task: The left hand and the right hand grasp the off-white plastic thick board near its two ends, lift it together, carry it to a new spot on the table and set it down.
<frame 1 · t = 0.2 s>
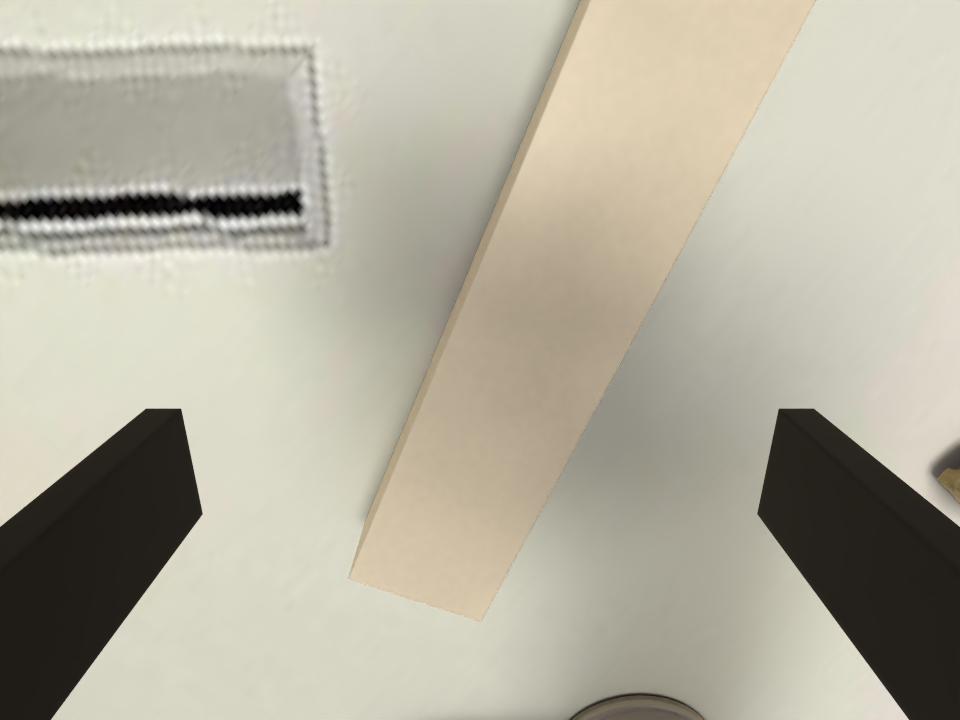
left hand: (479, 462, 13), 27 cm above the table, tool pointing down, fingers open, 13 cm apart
thick board: (613, 131, 36), on the table
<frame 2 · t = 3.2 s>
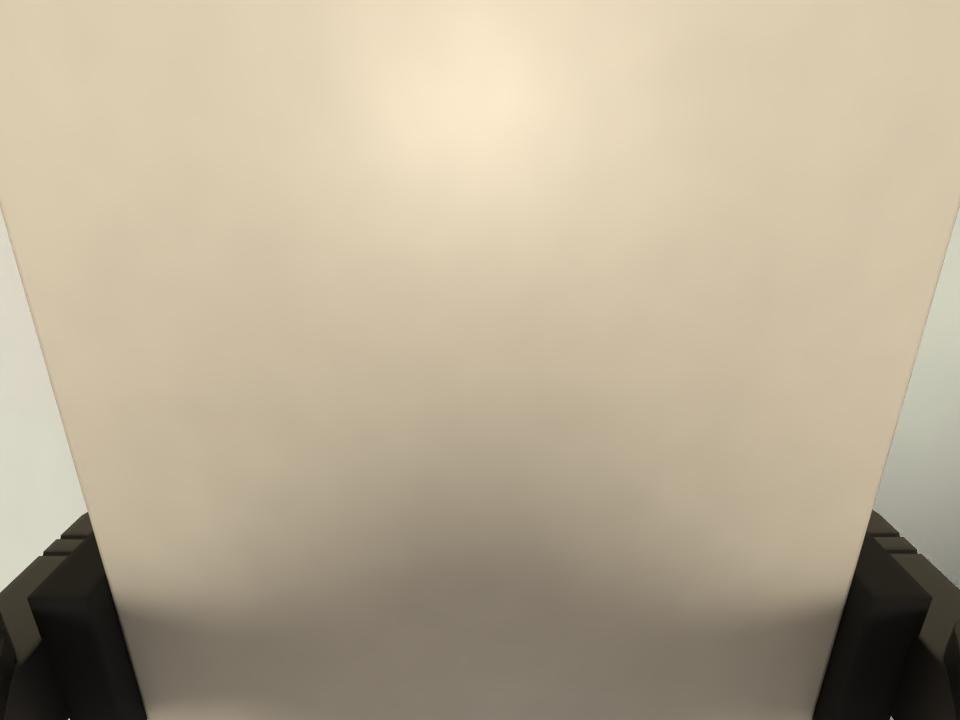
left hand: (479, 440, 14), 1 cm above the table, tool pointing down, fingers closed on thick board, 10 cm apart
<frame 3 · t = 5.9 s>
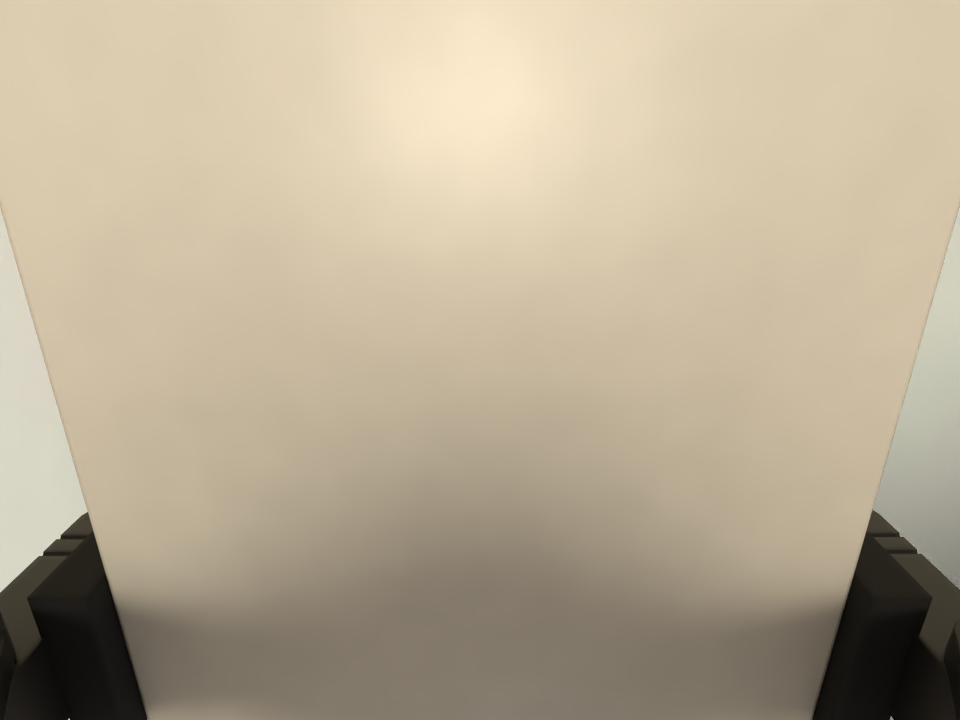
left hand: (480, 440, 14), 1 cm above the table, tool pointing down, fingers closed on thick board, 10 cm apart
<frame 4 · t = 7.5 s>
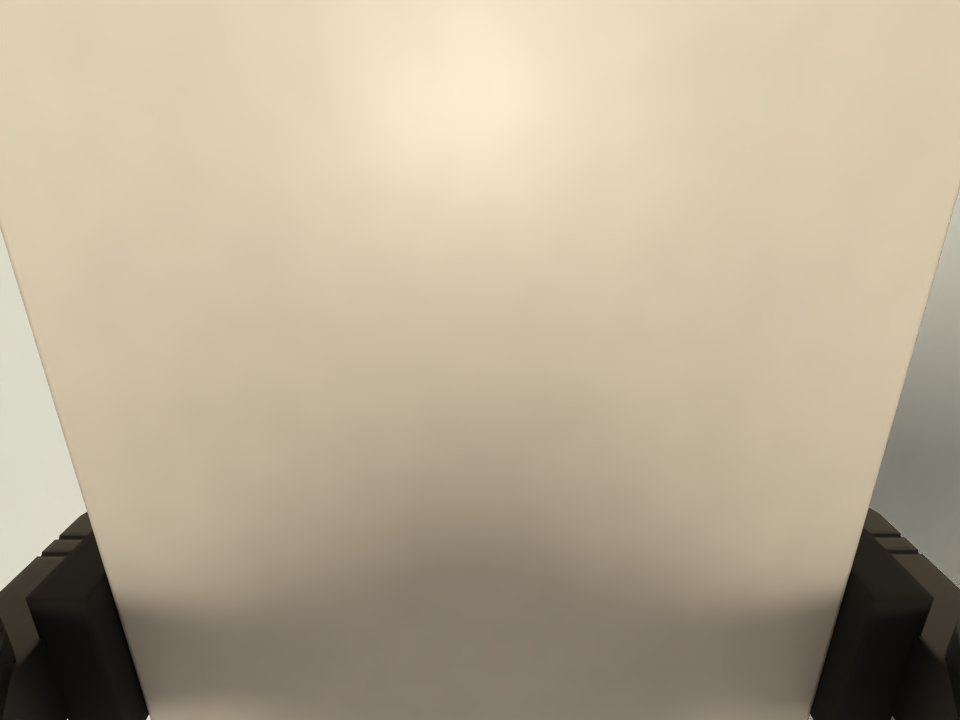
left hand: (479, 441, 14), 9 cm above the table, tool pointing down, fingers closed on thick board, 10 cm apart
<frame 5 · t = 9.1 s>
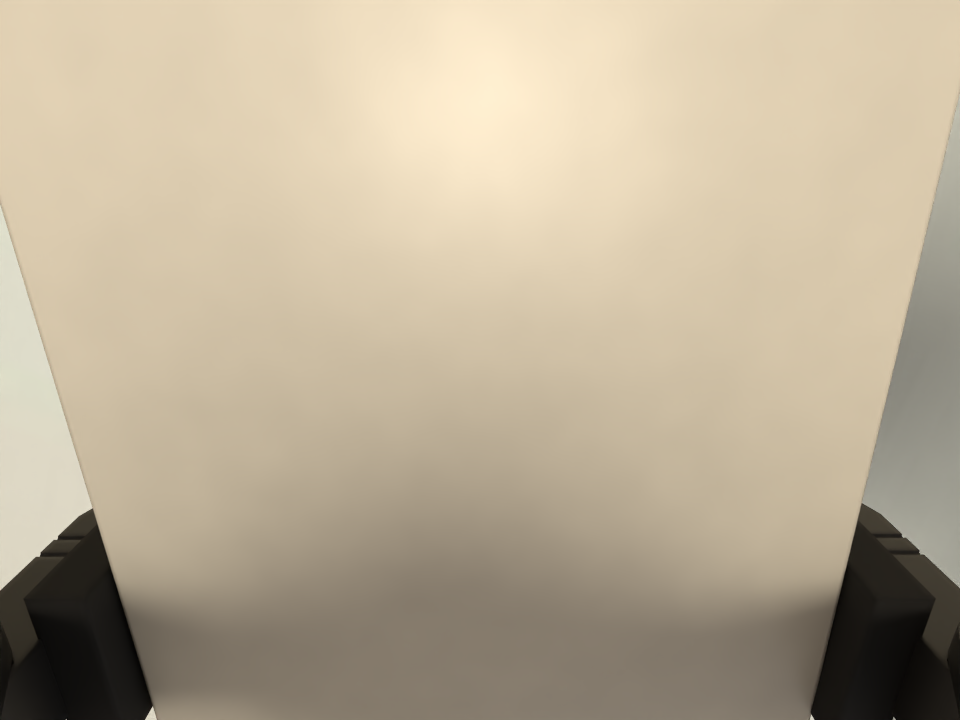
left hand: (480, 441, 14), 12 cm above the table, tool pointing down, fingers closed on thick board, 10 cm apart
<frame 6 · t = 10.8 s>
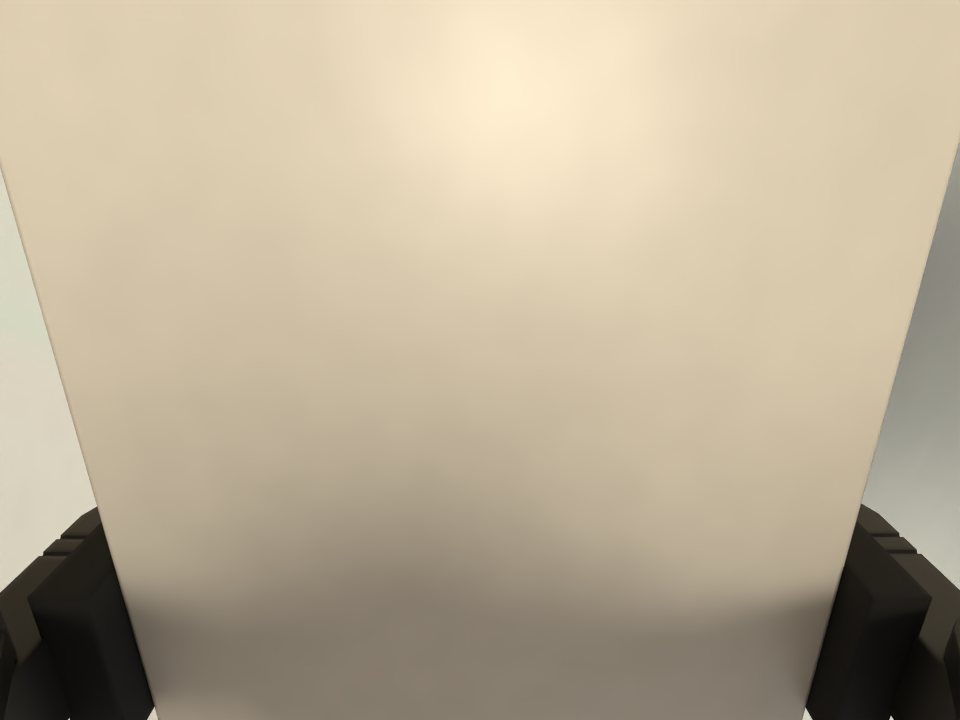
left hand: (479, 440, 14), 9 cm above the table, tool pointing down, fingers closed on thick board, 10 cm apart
when the left hand's fingers open (2 cm above the table, at t = 12.2 s): thick board stays where it is, on the table.
when the right hand's fingers open (2 cm above the table, at t = 12.2 s): thick board stays where it is, on the table.
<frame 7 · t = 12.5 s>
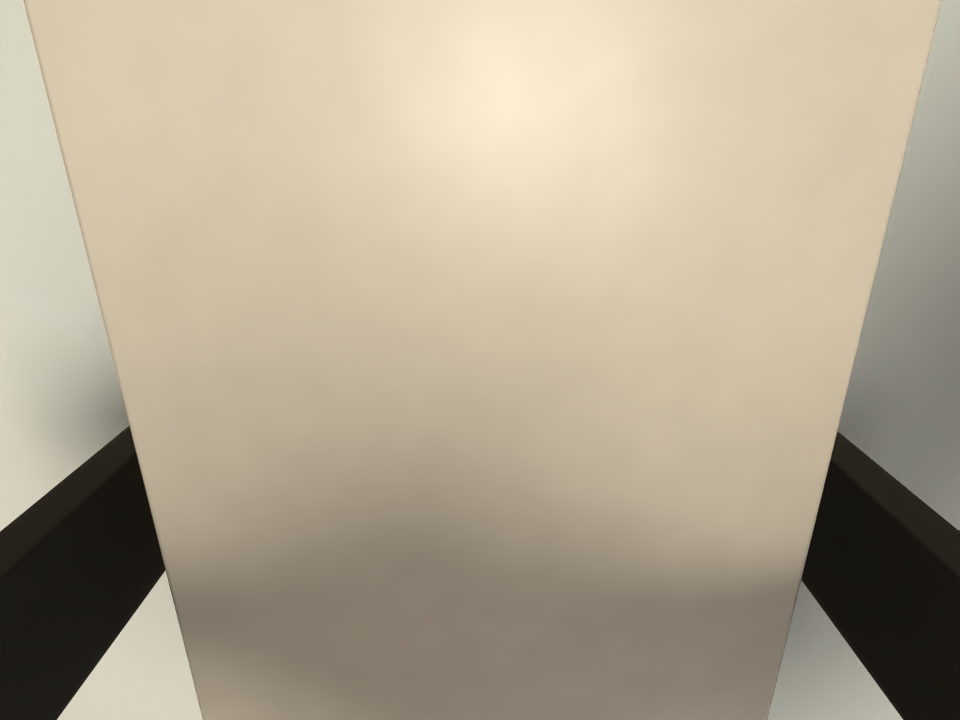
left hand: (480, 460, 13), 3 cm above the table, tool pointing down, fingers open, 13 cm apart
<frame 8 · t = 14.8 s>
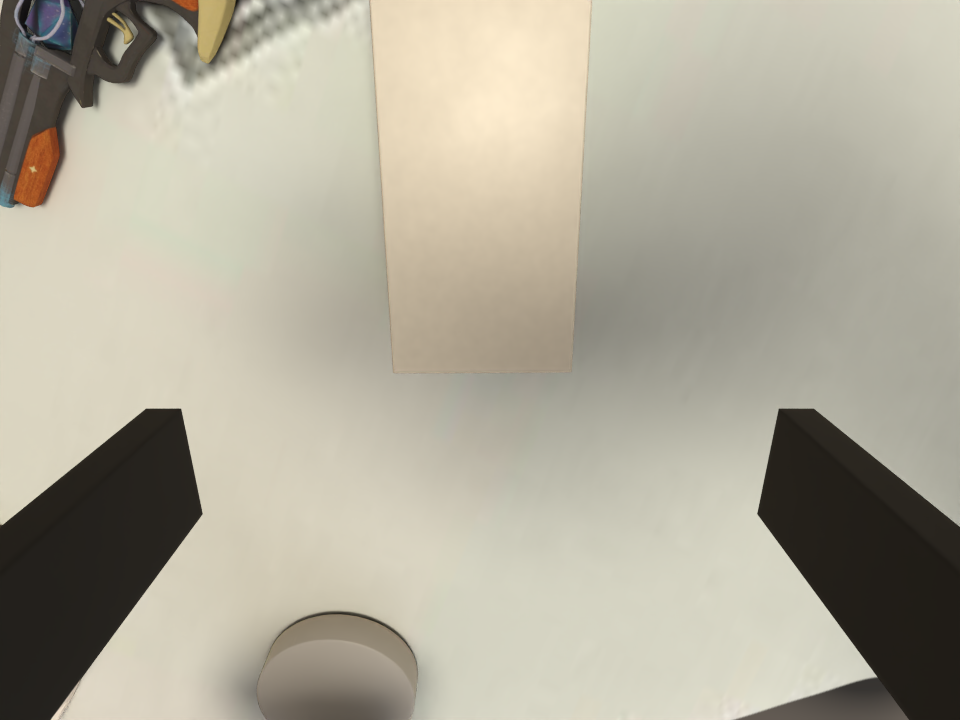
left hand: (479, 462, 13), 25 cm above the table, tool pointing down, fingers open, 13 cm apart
toy gun: (105, 83, 33), on the table
bust sculpture: (368, 696, 50), on the table
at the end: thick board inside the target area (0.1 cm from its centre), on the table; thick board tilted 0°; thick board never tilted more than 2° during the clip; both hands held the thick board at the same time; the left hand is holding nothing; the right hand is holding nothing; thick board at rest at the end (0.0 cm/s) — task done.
